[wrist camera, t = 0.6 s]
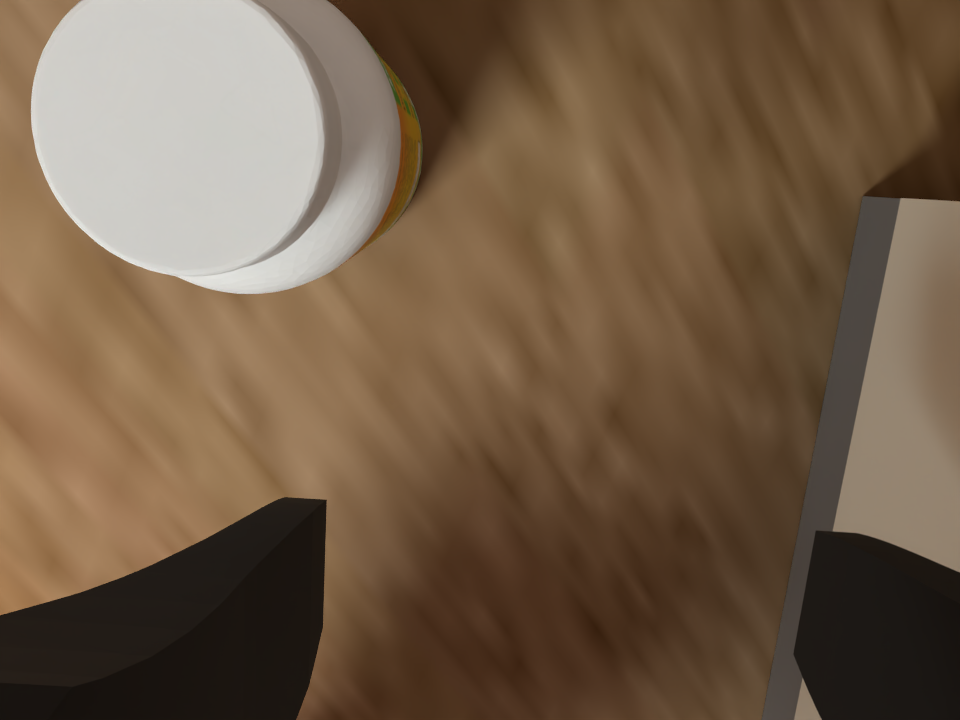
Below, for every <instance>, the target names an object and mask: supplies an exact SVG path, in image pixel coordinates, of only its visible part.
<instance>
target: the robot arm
mask: <svg viewBox="0 0 960 720" xmlns="http://www.w3.org/2000/svg"><path fill="white" fill-rule="evenodd" d="M326 501H327V500H320V499H304V498H288V497H284V498H281V499H278V500H276V501H274V502H272V503H270V504H268V505H266V506H264V507H262V508H261V509H259V510H257V511H255V512H253V513H252V514H250V515H248V516H246V517H244V518H243V519H241V520H239V521H237V522H235V523H234V524H232V525H230V526H228V527H226V528H225V529H223V530H221V531H219V532H217V533H216V534H214V535H212V536H210V537H208V538H206V539H204V540H202V541H200V542H198V543H196V544H194V545H192V546H190V547H188V548H186V549H184V550H182V551H180V552H178V553H176V554H174V555H172V556H170V557H168V558H165V559H163V560H161V561H159V562H157V563H155V564H153V565H151V566H149V567H146V568H144V569H142V570H139V571H137V572H134V573H132V574H129V575H127V576H125V577H122V578H119V579H117V580H114V581H111V582H109V583H106V584H103V585H100V586H98V587H95V588H92V589H89V590H87V591H84V592H81V593H77V594H74V595H71V596H68V597H64V598H61V599H57V600H54V601H50V602H46V603H43V604H39V605H36V606H32V607H29V608H25V609H22V610H18V611H14V612H11V613H7V614H4V615H0V720H296V718H297V716H298V713H299V710H300V708H301V705H302V703H303V700H304V697H305V695H306V692H307V689H308V687H309V683H310V679H311V675H312V671H313V667H314V663H315V658H316V654H317V650H318V645H319V641H320V637H321V632H322V628H323V603H324V569H325V535H326ZM793 655H794V657H795V660H796V662H797V665H798V667H799V670H800V672H801V675H802V677H803V679H804V682H805V684H806V687H807V689H808V691H809V694H810V696H811V698H812V700H813V702H814V705H815V707H816V709H817V711H818V713H819V715H820V717H821V719H822V720H960V572H957V571H955V570H953V569H951V568H948V567H946V566H944V565H941V564H939V563H937V562H934V561H932V560H930V559H927V558H925V557H923V556H921V555H918V554H916V553H913V552H911V551H909V550H906V549H904V548H901V547H899V546H896V545H893V544H891V543H888V542H886V541H883V540H880V539H877V538H874V537H871V536H867V535H863V534H859V533H849V532H833V531H817V530H816V532H815V537H814V543H813V548H812V554H811V559H810V565H809V570H808V576H807V581H806V587H805V592H804V598H803V603H802V609H801V614H800V620H799V625H798V631H797V636H796V642H795V647H794V653H793Z"/></svg>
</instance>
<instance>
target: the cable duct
mask: <svg viewBox="0 0 960 720" xmlns="http://www.w3.org/2000/svg"><path fill="white" fill-rule="evenodd" d="M899 204H900V199H899V198H884V197H869V196H863V199H862V204H861V209H860V214H859V219H858V224H857V230H856V235H855V240H854V245H853V250H852V255H851V261H850V266H849V271H848V276H847V281H846V287H845V292H844V297H843V302H842V307H841V312H840V318H839V323H838V328H837V333H836V338H835V343H834V349H833V354H832V359H831V364H830V369H829V374H828V380H827V385H826V390H825V395H824V400H823V405H822V411H821V416H820V421H819V426H818V431H817V436H816V442H815V447H814V452H813V457H812V462H811V467H810V473H809V478H808V483H807V488H806V493H805V498H804V504H803V509H802V514H801V519H800V524H799V530H798V535H797V540H796V545H795V550H794V555H793V561H792V566H791V571H790V576H789V581H788V586H787V592H786V597H785V602H784V607H783V612H782V617H781V623H780V628H779V633H778V638H777V643H776V648H775V654H774V659H773V664H772V669H771V674H770V679H769V685H768V690H767V695H766V700H765V705H764V710H763V716H762V720H794V717H795V712H796V708H797V703H798V698H799V693H800V688H801V683H802V678H803V677H802V675H801V672H800V670H799V667H798V665H797V662H796V660H795V657H794V655H793V653H794V647H795V642H796V636H797V631H798V625H799V620H800V614H801V609H802V603H803V598H804V592H805V587H806V581H807V576H808V570H809V565H810V559H811V554H812V548H813V543H814V537H815V532H816V530H817V531H833V527H834V522H835V517H836V512H837V507H838V502H839V497H840V492H841V487H842V483H843V478H844V473H845V468H846V463H847V458H848V453H849V448H850V443H851V439H852V434H853V429H854V424H855V419H856V414H857V409H858V404H859V399H860V395H861V390H862V385H863V380H864V375H865V370H866V365H867V360H868V355H869V351H870V346H871V341H872V336H873V331H874V326H875V321H876V316H877V311H878V306H879V302H880V297H881V292H882V287H883V282H884V277H885V272H886V267H887V262H888V258H889V253H890V248H891V243H892V238H893V233H894V228H895V223H896V218H897V214H898V209H899Z"/></svg>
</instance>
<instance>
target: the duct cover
mask: <svg viewBox="0 0 960 720" xmlns="http://www.w3.org/2000/svg"><path fill="white" fill-rule="evenodd" d="M833 532H849V533H859V534H863V535H867V536H871V537H874V538H877V539H880V540H883V541H886V542H888V543H891V544H893V545H896V546H899V547H901V548H904V549H906V550H909V551H911V552H913V553H916V554H918V555H921V556H923V557H925V558H927V559H930V560H932V561H934V562H937V563H939V564H941V565H944V566H946V567H948V568H951V569H953V570H955V571H957V572H960V201H943V200H927V199H910V198H901V199H900V204H899V209H898V214H897V218H896V223H895V228H894V233H893V238H892V243H891V248H890V253H889V258H888V262H887V267H886V272H885V277H884V282H883V287H882V292H881V297H880V302H879V306H878V311H877V316H876V321H875V326H874V331H873V336H872V341H871V346H870V351H869V355H868V360H867V365H866V370H865V375H864V380H863V385H862V390H861V395H860V399H859V404H858V409H857V414H856V419H855V424H854V429H853V434H852V439H851V443H850V448H849V453H848V458H847V463H846V468H845V473H844V478H843V483H842V487H841V492H840V497H839V502H838V507H837V512H836V517H835V522H834V527H833ZM794 720H822V719H821V717H820V715H819V713H818V711H817V709H816V707H815V705H814V702H813V700H812V698H811V696H810V694H809V691H808V689H807V687H806V684H805V682H804V679H803V678H802V683H801V688H800V693H799V698H798V703H797V708H796V712H795V717H794Z"/></svg>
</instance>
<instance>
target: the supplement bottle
mask: <svg viewBox="0 0 960 720" xmlns="http://www.w3.org/2000/svg"><path fill="white" fill-rule="evenodd" d="M31 121H32V131H33V137H34V142H35V147H36V152H37V156H38V159H39V162H40V165H41V167H42V170H43V172H44V175H45V177H46V180H47V182H48V184H49V186H50V188H51V190H52V191H53V193H54V195H55V196H56V198H57V200H58V201H59V203H60V204H61V206H62V207H63V208H64V210H65V211H66V213H67V214H68V215H69V216H70V217H71V218H72V219H73V221H74V222H75V223H76V224H77V225H78V226H79V227H80V228H81V229H82V230H83V231H84V232H85V233H86V234H88V235H89V236H90V237H91V238H92V239H93V240H94V241H96V242H97V243H98V244H99V245H101V246H102V247H104V248H105V249H107V250H108V251H109V252H111V253H113V254H114V255H116V256H118V257H120V258H122V259H124V260H125V261H127V262H129V263H131V264H134V265H137V266H140V267H142V268H145V269H148V270H151V271H155V272H158V273H163V274H168V275H173V276H177V277H179V278H181V279H183V280H186V281H188V282H190V283H193V284H196V285H198V286H202V287H205V288H208V289H213V290H217V291H222V292H229V293H238V294H261V293H270V292H278V291H282V290H287V289H291V288H294V287H297V286H300V285H303V284H305V283H308V282H310V281H313V280H316V279H318V278H320V277H321V276H324V275H326V274H328V273H329V272H331V271H333V270H334V269H336V268H337V267H339V266H341V265H342V264H343V263H345V262H346V261H347V260H349V259H350V258H352V257H353V256H354V255H356V254H357V253H359V252H360V251H361V250H363V249H364V248H366V247H367V246H369V245H371V244H372V243H374V242H375V241H377V240H378V239H379V238H380V237H382V236H383V235H384V234H385V233H386V232H387V231H388V230H389V229H391V227H392V226H393V225H394V224H395V223H396V222H397V221H398V219H399V218H400V217H401V215H402V214H403V213H404V211H405V209H406V208H407V206H408V205H409V203H410V201H411V199H412V197H413V194H414V192H415V190H416V187H417V184H418V181H419V177H420V173H421V165H422V152H423V148H422V135H421V128H420V124H419V120H418V116H417V113H416V110H415V108H414V105H413V103H412V101H411V98H410V97H409V94H408V92H407V91H406V89H405V87H404V86H403V84H402V82H401V81H400V80H399V78H398V77H397V76H396V74H395V73H394V72H393V71H392V69H391V68H390V67H389V66H388V65H387V64H386V63H385V61H384V60H383V59H382V58H381V57H380V56H379V54H378V53H377V52H376V51H375V50H374V48H373V47H372V46H371V45H370V43H369V42H368V41H367V39H366V38H365V37H364V36H363V34H362V33H361V32H360V31H359V29H358V28H357V27H356V26H355V25H354V24H353V23H352V22H351V21H350V20H349V19H348V18H347V17H346V16H345V15H344V14H343V13H342V12H341V11H340V10H339V9H337V8H336V7H335V6H334V5H333V4H331V3H330V2H329V1H327V0H81V1H80V2H79V3H77V4H76V5H75V6H74V7H73V8H72V9H71V10H70V11H69V12H68V13H67V14H66V16H65V17H64V18H63V19H62V20H61V22H60V23H59V24H58V26H57V27H56V28H55V30H54V31H53V33H52V35H51V37H50V39H49V41H48V42H47V44H46V46H45V48H44V50H43V52H42V55H41V57H40V60H39V63H38V67H37V70H36V74H35V78H34V83H33V88H32V100H31Z"/></svg>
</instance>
